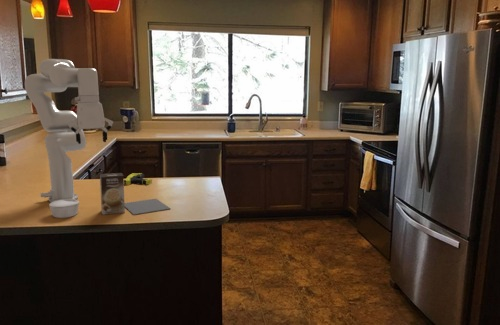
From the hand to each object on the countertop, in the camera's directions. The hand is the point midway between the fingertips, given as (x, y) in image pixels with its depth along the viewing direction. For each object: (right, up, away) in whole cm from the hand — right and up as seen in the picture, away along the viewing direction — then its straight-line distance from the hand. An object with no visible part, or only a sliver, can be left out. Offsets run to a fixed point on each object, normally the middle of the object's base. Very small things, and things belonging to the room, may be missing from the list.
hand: (92, 142), depth 170 cm
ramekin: (-12, -30, +3) cm, 33 cm away
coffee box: (+6, -29, +8) cm, 31 cm away
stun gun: (+3, -19, +63) cm, 66 cm away
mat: (+18, -28, +15) cm, 36 cm away
